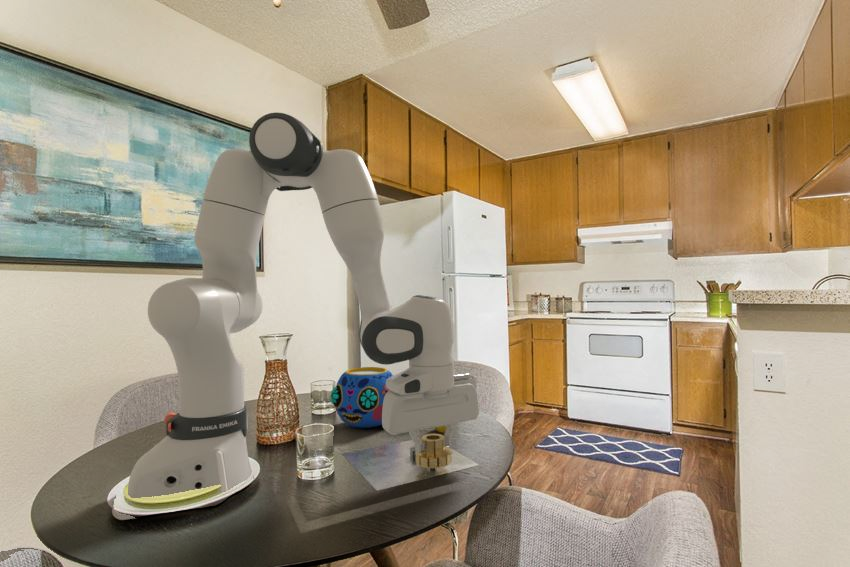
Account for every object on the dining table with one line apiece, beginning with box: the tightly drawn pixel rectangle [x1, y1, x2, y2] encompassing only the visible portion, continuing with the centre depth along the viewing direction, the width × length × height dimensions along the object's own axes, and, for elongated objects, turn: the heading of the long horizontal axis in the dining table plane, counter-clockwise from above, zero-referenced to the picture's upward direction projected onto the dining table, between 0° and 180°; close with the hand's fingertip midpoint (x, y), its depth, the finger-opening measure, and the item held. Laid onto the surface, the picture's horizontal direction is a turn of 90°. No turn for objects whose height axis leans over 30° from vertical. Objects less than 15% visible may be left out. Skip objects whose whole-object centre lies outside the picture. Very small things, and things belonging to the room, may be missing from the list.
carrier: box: [341, 437, 480, 492], centre depth 90 cm, size 22×20×5 cm
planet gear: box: [415, 433, 452, 468], centre depth 84 cm, size 7×7×5 cm
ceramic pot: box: [330, 366, 394, 429], centre depth 116 cm, size 18×18×15 cm
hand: (433, 448), depth 84 cm, fingers closed on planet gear, 4 cm apart
